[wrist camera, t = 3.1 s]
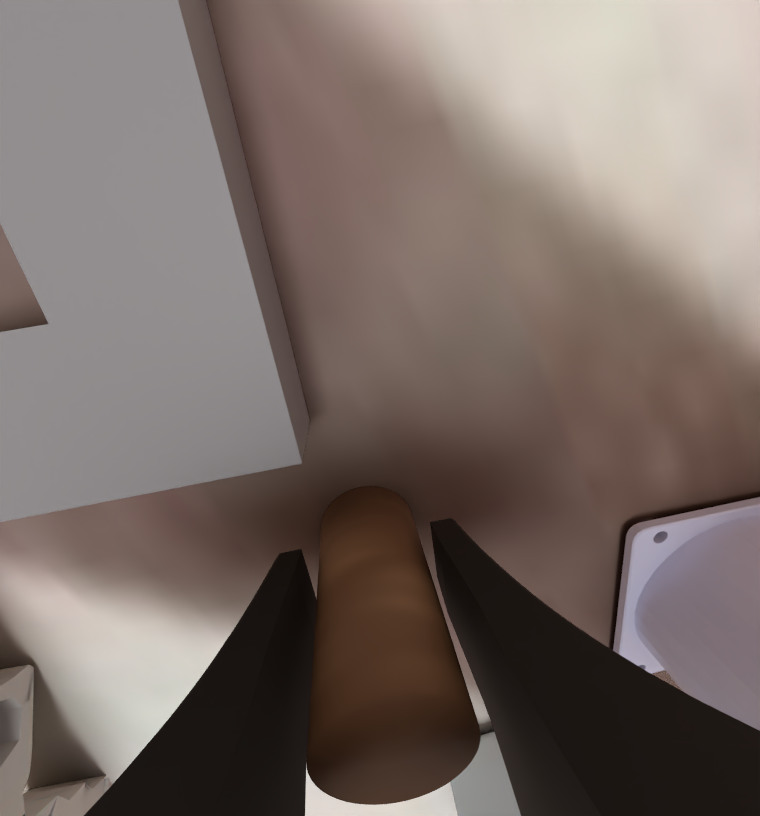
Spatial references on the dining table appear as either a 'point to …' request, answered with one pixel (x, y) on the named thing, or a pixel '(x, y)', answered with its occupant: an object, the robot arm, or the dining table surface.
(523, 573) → the dining table surface
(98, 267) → the socket plate
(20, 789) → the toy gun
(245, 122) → the dining table surface
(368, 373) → the dining table surface
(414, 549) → the peg
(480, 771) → the guitar pedal
